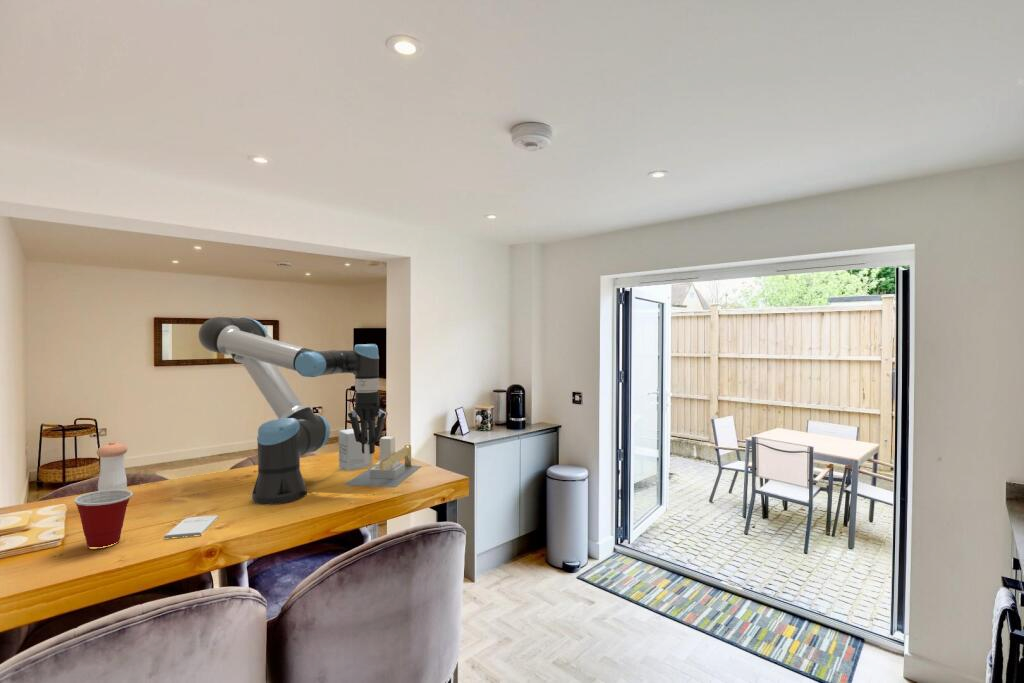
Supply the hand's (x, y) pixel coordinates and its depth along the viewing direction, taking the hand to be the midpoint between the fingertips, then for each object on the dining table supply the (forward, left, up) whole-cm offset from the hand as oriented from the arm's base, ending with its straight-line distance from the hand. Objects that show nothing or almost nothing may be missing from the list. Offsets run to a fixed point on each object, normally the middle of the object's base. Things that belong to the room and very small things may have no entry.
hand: (368, 463), depth 160 cm
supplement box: (-15, +20, -8) cm, 26 cm away
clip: (+5, +11, -6) cm, 13 cm away
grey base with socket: (+1, +10, -8) cm, 13 cm away
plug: (+2, +10, -7) cm, 12 cm away
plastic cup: (-44, -50, -8) cm, 67 cm away
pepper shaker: (-68, -26, -8) cm, 73 cm away
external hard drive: (-31, -38, -9) cm, 50 cm away
